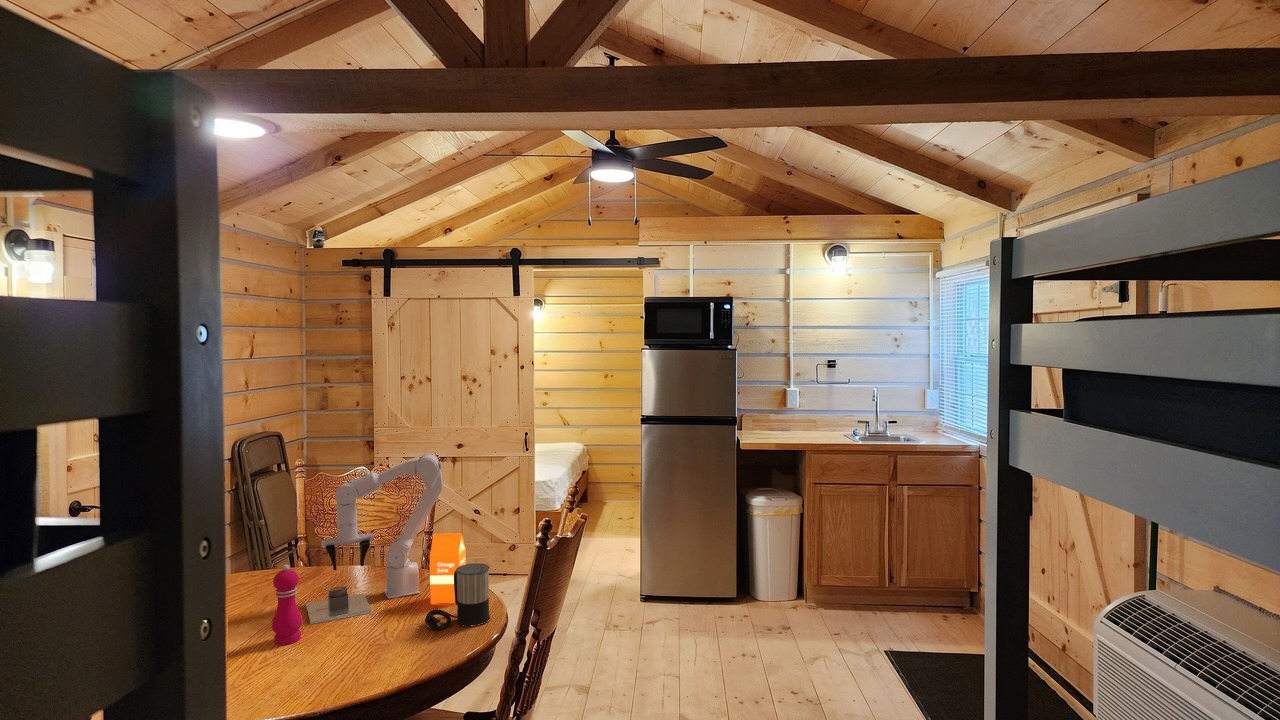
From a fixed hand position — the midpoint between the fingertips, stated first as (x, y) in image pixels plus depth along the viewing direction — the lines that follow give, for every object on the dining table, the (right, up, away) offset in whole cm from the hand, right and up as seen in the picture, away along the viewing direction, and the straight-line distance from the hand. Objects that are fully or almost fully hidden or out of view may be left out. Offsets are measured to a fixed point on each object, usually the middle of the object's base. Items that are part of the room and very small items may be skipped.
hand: (348, 567), depth 216 cm
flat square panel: (+1, -10, -10) cm, 14 cm away
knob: (+1, -9, -10) cm, 13 cm away
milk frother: (+39, -9, -22) cm, 46 cm away
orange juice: (+32, -9, -3) cm, 33 cm away
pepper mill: (-3, -10, -31) cm, 33 cm away
